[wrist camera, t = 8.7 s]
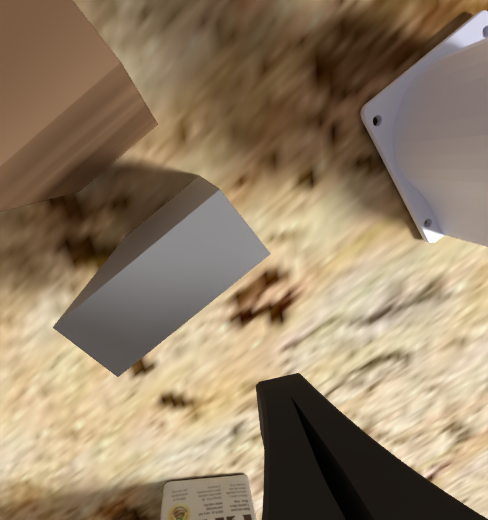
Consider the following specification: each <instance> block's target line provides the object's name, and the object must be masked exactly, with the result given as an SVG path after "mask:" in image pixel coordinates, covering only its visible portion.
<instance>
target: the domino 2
mask: <svg viewBox="0 0 488 520" xmlns="http://www.w3.org/2000/svg"><path fill="white" fill-rule="evenodd" d="M269 255H270V252H269V251H268V250H267V249H266V247H265V246H264V245H263V243H262V242H261V241H260V240H259V238H258V237H257V236H256V235H255V233H254V232H253V231H252V229H251V228H250V227H249V226H248V224H247V223H246V222H245V221H244V219H243V218H242V217H241V215H240V214H239V213H238V212H237V210H236V209H235V208H234V206H233V205H232V204H231V203H230V201H229V200H228V199H227V198H226V196H225V195H224V194H223V192H222V191H221V190H220V189H219V188H217V187H216V186H214V185H213V184H211V183H210V182H208V181H207V180H205V179H204V178H202V177H201V176H198V177H197V178H196V179H194V180H193V181H192V182H191V183H190V184H188V185H187V186H186V187H185V188H184V189H182V190H181V191H180V192H179V193H178V194H176V195H175V196H174V197H173V198H172V199H170V200H169V201H168V202H167V203H166V204H164V205H163V206H162V207H161V208H160V209H158V210H157V211H156V212H155V213H154V214H152V215H151V216H150V217H149V218H148V219H146V220H145V221H144V222H143V223H141V224H140V225H139V226H138V227H137V228H135V229H134V230H133V231H132V232H131V233H129V234H128V235H127V236H126V237H125V238H124V239H123V240H122V241H121V243H120V244H119V245H118V246H117V248H116V249H115V250H114V251H113V253H112V254H111V255H110V256H109V258H108V259H107V260H106V261H105V263H104V264H103V265H102V266H101V268H100V269H99V270H98V271H97V273H96V274H95V275H94V276H93V278H92V279H91V280H90V281H89V283H88V284H87V285H86V286H85V288H84V289H83V290H82V291H81V293H80V294H79V295H78V296H77V298H76V299H75V300H74V301H73V303H72V304H71V305H70V307H69V308H68V309H67V310H66V312H65V313H64V314H63V315H62V317H61V318H60V319H59V320H58V322H57V323H56V324H55V325H54V327H53V328H54V329H55V330H57V331H58V332H59V333H61V334H62V335H63V336H65V337H66V338H67V339H69V340H70V341H71V342H72V343H74V344H75V345H76V346H78V347H79V348H80V349H82V350H83V351H84V352H86V353H87V354H88V355H90V356H91V357H92V358H93V359H95V360H96V361H97V362H99V363H100V364H101V365H103V366H104V367H105V368H107V369H108V370H109V371H111V372H112V373H113V374H114V375H116V376H117V377H119V376H120V375H121V374H122V373H124V372H125V371H126V370H127V369H129V368H130V367H131V366H132V365H134V364H135V363H136V362H137V361H138V360H140V359H141V358H142V357H143V356H145V355H146V354H147V353H148V352H150V351H151V350H152V349H153V348H155V347H156V346H157V345H158V344H160V343H161V342H162V341H163V340H165V339H166V338H167V337H168V336H169V335H171V334H172V333H173V332H174V331H176V330H177V329H178V328H179V327H181V326H182V325H183V324H184V323H186V322H187V321H188V320H189V319H191V318H192V317H193V316H194V315H195V314H197V313H198V312H199V311H200V310H202V309H203V308H204V307H205V306H207V305H208V304H209V303H210V302H212V301H213V300H214V299H215V298H217V297H218V296H219V295H220V294H222V293H223V292H224V291H225V290H226V289H228V288H229V287H230V286H231V285H233V284H234V283H235V282H236V281H238V280H239V279H240V278H241V277H243V276H244V275H245V274H246V273H248V272H249V271H250V270H251V269H252V268H254V267H255V266H256V265H257V264H259V263H260V262H261V261H262V260H264V259H265V258H266V257H267V256H269Z"/></svg>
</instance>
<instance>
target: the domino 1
mask: <svg viewBox="0 0 488 520" xmlns="http://www.w3.org/2000/svg"><path fill="white" fill-rule="evenodd" d="M157 125H158V123H157V122H156V120H155V118H154V117H153V115H152V113H151V112H150V110H149V108H148V107H147V105H146V103H145V102H144V100H143V98H142V97H141V95H140V93H139V92H138V90H137V88H136V87H135V85H134V83H133V82H132V80H131V78H130V77H129V75H128V73H127V72H126V70H125V68H124V67H123V65H122V63H121V62H120V60H119V59H118V58H117V57H116V55H115V54H114V53H113V51H112V50H111V49H110V48H109V46H108V45H107V44H106V43H105V41H104V40H103V39H102V37H101V36H100V35H99V34H98V32H97V31H96V30H95V28H94V27H93V26H92V25H91V23H90V22H89V21H88V20H87V18H86V17H85V16H84V14H83V13H82V12H81V11H80V9H79V8H78V7H77V5H76V4H75V3H74V2H73V0H0V212H1V211H5V210H9V209H13V208H16V207H20V206H24V205H28V204H32V203H36V202H40V201H44V200H48V199H52V198H56V197H60V196H64V195H68V194H72V193H75V192H79V191H80V190H81V189H82V188H84V187H85V186H86V185H87V184H88V183H89V182H91V181H92V180H93V179H94V178H95V177H97V176H98V175H99V174H100V173H101V172H102V171H104V170H105V169H106V168H107V167H108V166H110V165H111V164H112V163H113V162H114V161H115V160H117V159H118V158H119V157H120V156H121V155H123V154H124V153H125V152H126V151H127V150H128V149H130V148H131V147H132V146H133V145H134V144H136V143H137V142H138V141H139V140H140V139H141V138H143V137H144V136H145V135H146V134H147V133H148V132H150V131H151V130H152V129H153V128H154V127H156V126H157Z"/></svg>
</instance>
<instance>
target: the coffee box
mask: <svg viewBox="0 0 488 520" xmlns="http://www.w3.org/2000/svg"><path fill="white" fill-rule="evenodd" d="M160 520H256V515H255V511H254V506H253V501H252V496H251V491H250V486H249V480H248V477H247V475H236V476H225V477H215V478H203V479H193V480H183V481H170V482H168V483H166V484H165V485H164V488H163V497H162V507H161V516H160Z"/></svg>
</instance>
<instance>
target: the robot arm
mask: <svg viewBox="0 0 488 520" xmlns="http://www.w3.org/2000/svg"><path fill="white" fill-rule="evenodd" d="M482 31H483V32H484V35H482ZM374 117H376V118H377V124H376V126H375V125H374V124H373V118H374ZM361 119H362V121H363V123H364V125H365V127H366V129H367V131H368V133H369V135H370V137H371V139H372V141H373V143H374V144H375V146H376V148H377V150H378V152H379V154H380V156H381V158H382V160H383V162H384V164H385V166H386V168H387V170H388V172H389V174H390V176H391V178H392V179H393V181H394V183H395V185H396V187H397V189H398V191H399V193H400V195H401V197H402V199H403V201H404V203H405V205H406V207H407V209H408V211H409V213H410V214H411V216H412V218H413V220H414V222H415V224H416V226H417V228H418V230H419V232H420V234H421V236H422V238H423V240H424V241H426V242H429V243H434V242H436V241H437V240H439V239H440V238H441V237H442V236H444V235H446V236H450V237H453V238H457V239H461V240H465V241H468V242H472V243H476V244H479V245H483V246H487V247H488V11H486V10H483V11H481V12H479V13H477V14H475V15H473V16H472V17H471V18H470V19H469V20H467V21H466V22H465V23H464V24H462V25H461V26H460V27H459V28H458V29H456V30H455V31H454V32H453V33H451V34H450V35H449V36H448V37H447V38H445V39H444V40H443V41H442V42H441V43H439V44H438V45H437V46H436V47H434V48H433V49H432V50H431V51H430V52H428V53H427V54H426V55H425V56H423V57H422V58H421V59H420V60H419V61H417V62H416V63H415V64H414V65H412V66H411V67H410V68H409V69H408V70H406V71H405V72H404V73H403V74H401V75H400V76H399V77H398V78H397V79H395V80H394V81H393V82H392V83H391V84H389V85H388V86H387V87H386V88H384V89H383V90H382V91H381V92H380V93H378V94H377V95H376V96H375V97H373V98H372V99H371V100H370V101H369V102H367V103H366V104H365V105H364V106H363V107H362V110H361ZM426 220H427V222H426V224H425V225H424V222H425V221H426ZM256 392H257V402H258V411H259V421H260V430H261V435H262V440H263V444H264V495H263V513H262V520H488V519H487V518H485V517H483V516H482V515H480V514H478V513H477V512H475V511H474V510H472V509H470V508H469V507H467V506H466V505H464V504H463V503H461V502H460V501H458V500H457V499H455V498H454V497H452V496H451V495H449V494H448V493H446V492H445V491H443V490H442V489H440V488H439V487H437V486H436V485H434V484H433V483H431V482H430V481H429V480H427V479H426V478H424V477H423V476H421V475H420V474H418V473H417V472H416V471H414V470H413V469H412V468H410V467H409V466H407V465H406V464H405V463H403V462H402V461H401V460H399V459H398V458H397V457H395V456H394V455H393V454H391V453H390V452H389V451H388V450H386V449H385V448H384V447H382V446H381V445H380V444H379V443H377V442H376V441H375V440H374V439H372V438H371V437H370V436H369V435H367V434H366V433H365V432H364V431H362V430H361V429H360V428H359V427H358V426H357V425H355V424H354V423H353V422H352V421H351V420H350V419H348V418H347V417H346V416H345V415H344V414H343V413H341V412H340V411H339V410H338V409H337V408H336V407H335V406H334V405H332V404H331V403H330V402H329V401H328V400H327V399H326V398H325V397H324V396H323V395H322V394H321V393H320V392H318V391H317V390H316V389H315V388H314V387H313V386H312V385H311V384H310V383H309V382H308V381H307V380H306V379H305V378H304V377H303V376H302V375H301V374H299V373H296V374H292V375H287V376H283V377H278V378H274V379H270V380H265V381H261V382H259V383H258V384H257V385H256Z"/></svg>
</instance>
